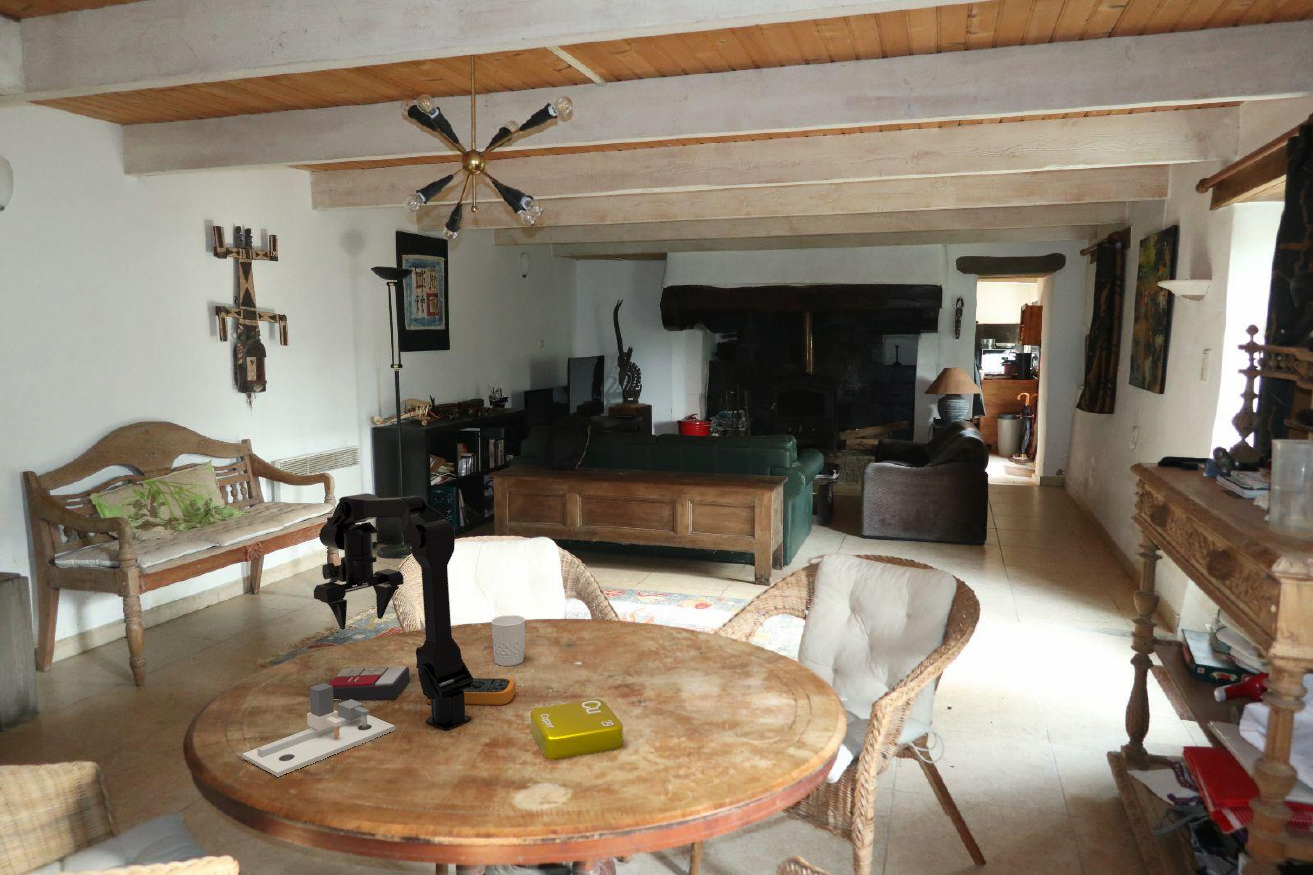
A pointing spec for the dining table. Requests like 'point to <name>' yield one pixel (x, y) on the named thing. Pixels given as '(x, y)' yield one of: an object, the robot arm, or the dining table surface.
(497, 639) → the white cup
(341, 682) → the calculator
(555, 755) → the element tile
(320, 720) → the block
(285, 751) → the plate
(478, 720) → the dining table surface
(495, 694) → the multimeter
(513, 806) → the dining table surface
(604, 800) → the dining table surface
